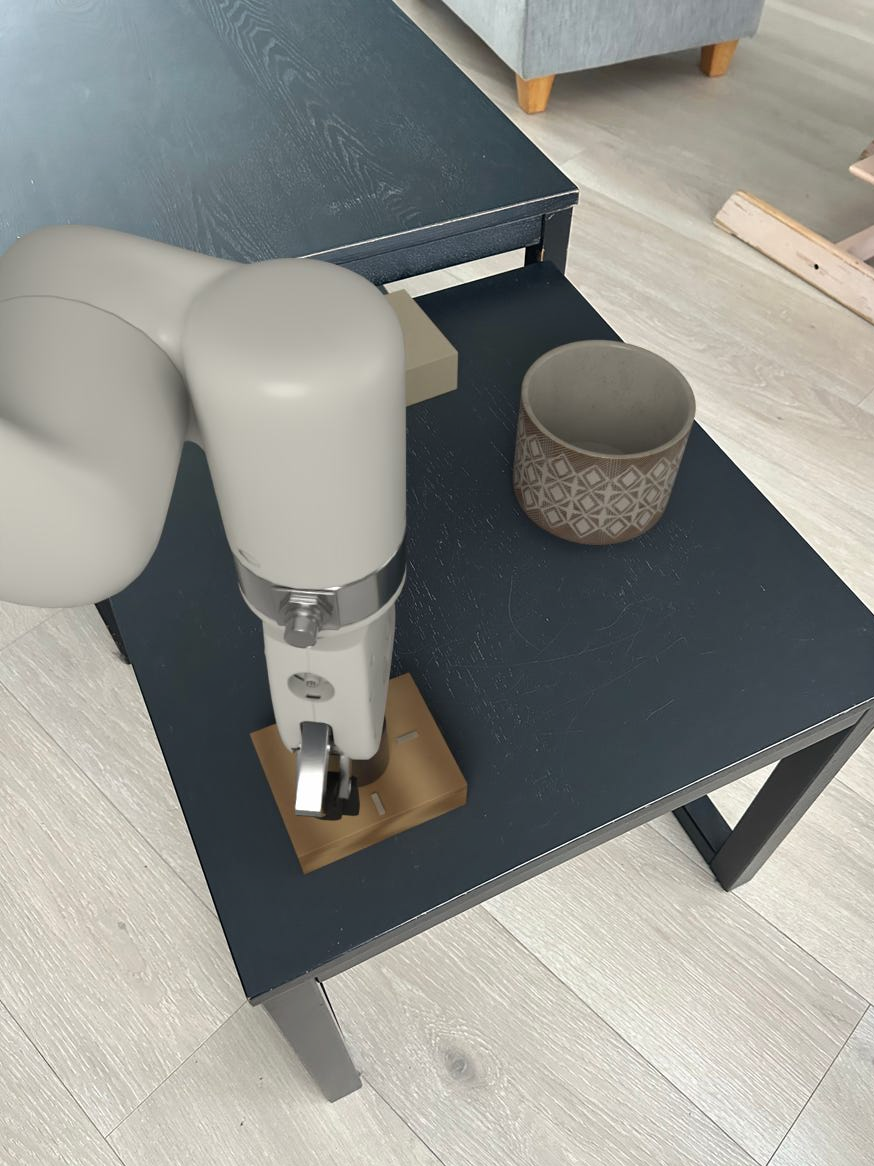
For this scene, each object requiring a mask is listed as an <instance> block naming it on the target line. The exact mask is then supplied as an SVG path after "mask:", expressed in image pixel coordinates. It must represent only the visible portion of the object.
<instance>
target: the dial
mask: <svg viewBox="0 0 874 1166" xmlns="http://www.w3.org/2000/svg"><path fill="white" fill-rule="evenodd" d="M331 736H333V729H332V731H331ZM388 763H389V747H388V736H387V725H386V717H385V714H384V721H383V728H382V735H381V741H380V745H379V749H378V751H377V752H376V753H375V755H374V756H373V757H371V758H370V759H365V760H360V759H352V775H353V776H355V777H356V778H357V781H358V787H362V786H366V785H369V784H371V783H373V782H375V781H376V780H377V779H379V778H380V777H381V776H382V775H383V773H384V772H385V770H386V768H387V766H388ZM339 765H340V756H339V755H329V762H328V771H335V772H339Z"/></svg>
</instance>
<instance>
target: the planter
mask: <svg viewBox="0 0 874 1166" xmlns="http://www.w3.org/2000/svg"><path fill="white" fill-rule="evenodd" d="M696 411H697V403H696V397H695V394H694V391H693V388H692V386H691V384H690V382H689V381H688V379H687V378H686V376H684V374H683V373H682V372H681V371H680V370H679V369H678V368H677V367H676V366H675V365H674V364H672V363H671V362H669V360H667V359H666V358H664V357H662V356H660V355H659V354H657V353H655V352H653V351H651V350H649V349H646V348H644V347H641V346H638V345H634V344H632V343H627V342H623V341H617V340H608V339H587V340H578V341H573V342H569V343H566V344H562V345H560V346H557V347H554V348H552V349H551V350H549V351H547V352H545V353H544V354H542V355H540V357H538V358H537V359H536V360H535V361H534V362H533V363H532V364H531V365H530V367H529V368H528V369H527V371H526V372H525V374H524V376H523V380H522V383H521V388H520V399H519V411H518V419H517V420H518V421H517V429H516V440H515V449H514V457H513V458H514V459H513V467H512V468H513V469H512V477H511V478H512V481H511V482H512V489H513V494H514V496H515V499H516V501H517V503H518V505H519V507H520V508H521V510H522V511H523V512H524V514H525V515H526V516H527V517H528V518H529V519H530V520H531V521H532V522H533V523H534V524H535V525H537V526H538V527H539V528H540V529H542V530H544V531H545V532H547V533H549V534H551V535H553V536H554V537H557V538H560V539H561V540H565V541H569V542H572V543H576V544H580V545H581V544H582V545H588V546H589V545H590V546H608V545H609V546H610V545H615V544H616V545H617V544H620V543H624V542H628V541H631V540H633V539H636V538H638V537H640V536H642V535H643V534H646V532H648V531H650V530H651V529H652V528H653V527H654V526H655V525H656V524H657V523H658V522H659V521H660V519H662V516H663V515H664V514H665V511H666V509H667V506H668V504H669V501H670V497H671V495H672V490H673V487H674V484H675V481H676V478H677V475H678V472H679V468H680V465H681V462H682V459H683V455H684V453H685V450H686V446H687V442H688V440H689V436H690V434H691V430H692V427H693V424H694V421H695V418H696V413H697V412H696Z"/></svg>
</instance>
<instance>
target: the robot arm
mask: <svg viewBox="0 0 874 1166" xmlns="http://www.w3.org/2000/svg"><path fill="white" fill-rule="evenodd" d="M384 295H385V294H383V292H382V291H381V290H380V289H379V288H378V287H377V286H376V285H375V284H374V283H372V282H371V281H369V280H368V279H367V278H365V277H364V276H363V275H360V274H359V273H357V272H354V271H353V270H351V269H348V268H346V267H343V266H340V265H337V264H335V263H332V262H328V261H325V260H320V259H313V258H305V257H281V258H271V259H265V260H260V261H256V262H252V263H243V262H239V261H235V260H231V259H225V258H220V257H217V256H212V255H209V254H205V253H202V252H198V251H194V250H190V249H188V248H187V249H186V248H183V247H179V246H175V245H172V244H169V243H165V242H162V241H159V240H155V239H151V238H149V237H144V236H140V235H137V234H133V233H130V232H127V231H126V232H125V231H121V230H116V229H112V228H108V227H103V226H97V225H96V226H95V225H91V224H90V225H89V224H74V223H73V224H67V223H62V224H61V223H60V224H54V225H48V226H42V227H39V228H36V229H35V230H32V231H29V232H27V233H26V234H24V235H22V236H21V237H19V238H18V239H17V240H15V242H13V244H12V245H10V246H9V247H8V248H7V249H6V250H5V252H4V253H3V254H2V255H1V257H0V601H2V602H5V603H10V604H14V605H19V606H26V607H33V608H39V609H73V608H80V607H84V606H89V605H93V604H97V603H100V602H103V601H106V600H107V599H109V598H111V597H114V596H115V595H117V594H119V593H120V592H123V591H124V590H125V589H126V588H127V587H128V586H129V585H130V584H132V583H133V582H134V581H135V580H136V579H137V578H138V577H139V576H140V575H142V573H143V572H144V570H145V569H146V567H147V566H148V564H149V563H150V561H151V559H152V557H153V555H154V554H155V551H156V550H157V548H158V545H159V543H160V539H161V536H162V533H163V530H164V526H165V523H166V519H167V516H168V511H169V508H170V504H171V500H172V495H173V492H174V488H175V483H176V479H177V475H178V472H179V471H178V470H179V466H180V463H181V458H182V453H183V449H184V444H185V442H191V443H193V444H196V445H197V446H199V447H200V449H202V450H203V452H204V454H205V458H206V462H207V465H208V470H209V474H210V478H211V482H212V486H213V489H214V494H215V497H216V501H217V506H218V508H219V512H220V513H219V514H220V517H221V522H222V525H223V529H224V532H225V536H226V541H227V544H228V548H229V553H230V556H231V561H232V564H233V568H234V571H235V577H236V579H237V583H238V588H239V591H240V594H241V596H242V598H243V600H244V602H245V603H246V604H247V606H248V608H249V609H250V610H251V611H252V612H253V613H254V614H255V615H256V616H257V617H258V618H259V619H260V620H261V621H262V632H263V643H264V652H263V653H264V656H265V660H266V661H265V662H266V670H267V676H268V677H267V678H268V684H269V691H270V698H271V704H272V709H273V713H274V714H273V715H274V718H275V724H276V723H277V727H278V731H279V734H280V737H281V739H282V741H283V743H284V745H285V746H286V748H287V749H288V750H289V751H290V752H291V753H293V754H294V753H295V751H296V779H295V795H296V798H295V815H296V816H306V817H315V818H317V819H320V820H328V821H337V820H340V819H342V815H346V816H357V815H359V810H360V799H359V790H358V781H357V778H356V777H355V776H353V775H352V759H360V760H365V759H370V758H371V757H373V756H374V755H375V753H376V752H377V751H378V749H379V745H380V741H381V735H382V728H383V721H384V714H385V706H386V699H387V691H388V684H389V680H390V673H391V666H392V660H393V659H392V658H393V649H394V640H395V632H396V602H397V600H398V598H399V597H400V595H401V593H402V590H403V587H404V585H405V582H406V577H407V407H406V357H405V342H404V335H403V332H402V328H401V324H400V321H399V319H398V317H397V315H396V313H395V311H394V309H393V307H392V305H391V304H390V302H389V301H388V300H387V298H386V297H385V296H384ZM332 729H333V736H331V731H332ZM329 755H339V756H340V765H339V772H335V771H328V762H329Z"/></svg>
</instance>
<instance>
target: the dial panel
mask: <svg viewBox="0 0 874 1166" xmlns="http://www.w3.org/2000/svg"><path fill="white" fill-rule="evenodd" d="M385 717H386V725H387V736H388V747H389V763H388V766H387V768H386V770H385V772H384V773H383V775H382V776H381V777H380V778H379V779H377V780H376V781H375V782H373V783H371V784H369V785H366V786H362V787H358V790H359V799H360V810H359V815H357V816H346V815H342V819H340V820H337V821H328V820H320V819H317V818H315V817H306V816H296V815H295V798H296V795H295V779H296V751H295V753H294V754H293V753H291V752H290V751H289V750H288V749H287V748H286V746H285V745H284V743H283V741H282V739H281V737H280V734H279V731H278V727H277V723H276V722H275V723H274V724H271V725H268V726H266V727H262V728H261V729H258V730H255V731H253V732H250V733H249V736H250V739H251V741H252V744H253V747H254V750H255V753H256V756H257V758H258V760H259V763H260V766H261V768H262V771H263V773H264V776H265V779H266V781H267V784H268V786H269V789H270V792H271V793H272V796H273V799H274V802H275V804H276V807H277V810H278V811H279V814H280V816H281V817H280V818H281V819H282V822H283V824H284V827H285V829H286V832H287V834H288V838H289V840H290V843H291V844H292V848H293V850H294V852H295V854H296V858H297V861H298V863H299V866H300V868H301V870H302V874H303V875H306V874H309V873H311V872H313V871H316V870H318V869H320V868H323V867H325V866H327V865H329V864H333V863H334V862H337V861H339V860H342V859H343V858H345V857H348V856H351V855H352V854H355V853H357V852H359V851H362V850H364V849H366V848H369V847H371V846H373V845H375V844H379V843H380V842H382V841H384V840H387V839H389V838H391V837H393V836H396V835H399V834H400V833H403V832H406V831H407V830H409V829H412V828H415V827H417V826H419V825H422V824H424V823H425V822H428V821H430V820H433V819H435V818H437V817H440V816H442V815H445V814H446V813H448V812H451V811H453V810H456V809H457V808H461V807H463V806H465V805H466V804H467V798H468V797H467V794H468V782H467V780H466V779H465V777H464V775H463V772H462V771H461V769H460V767H459V764H458V763H457V761H456V759H455V758H454V756H453V754H452V752H451V750H450V748H449V746H448V744H447V742H446V740H445V738H444V736H443V734H442V733H441V730H440V729H439V726H438V725H437V723H436V721H435V719H434V717H433V715H432V713H431V711H430V709H429V708H428V705H427V704H426V702H425V699H424V697H423V696H422V694H421V692H420V690H419V688H418V686H417V684H416V682H415V681H414V679H413V676H412V675H411V673H410V672H406V673H404V674H401V675H398V676H396V677H394V678H390V679H389V684H388V691H387V699H386V706H385Z"/></svg>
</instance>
